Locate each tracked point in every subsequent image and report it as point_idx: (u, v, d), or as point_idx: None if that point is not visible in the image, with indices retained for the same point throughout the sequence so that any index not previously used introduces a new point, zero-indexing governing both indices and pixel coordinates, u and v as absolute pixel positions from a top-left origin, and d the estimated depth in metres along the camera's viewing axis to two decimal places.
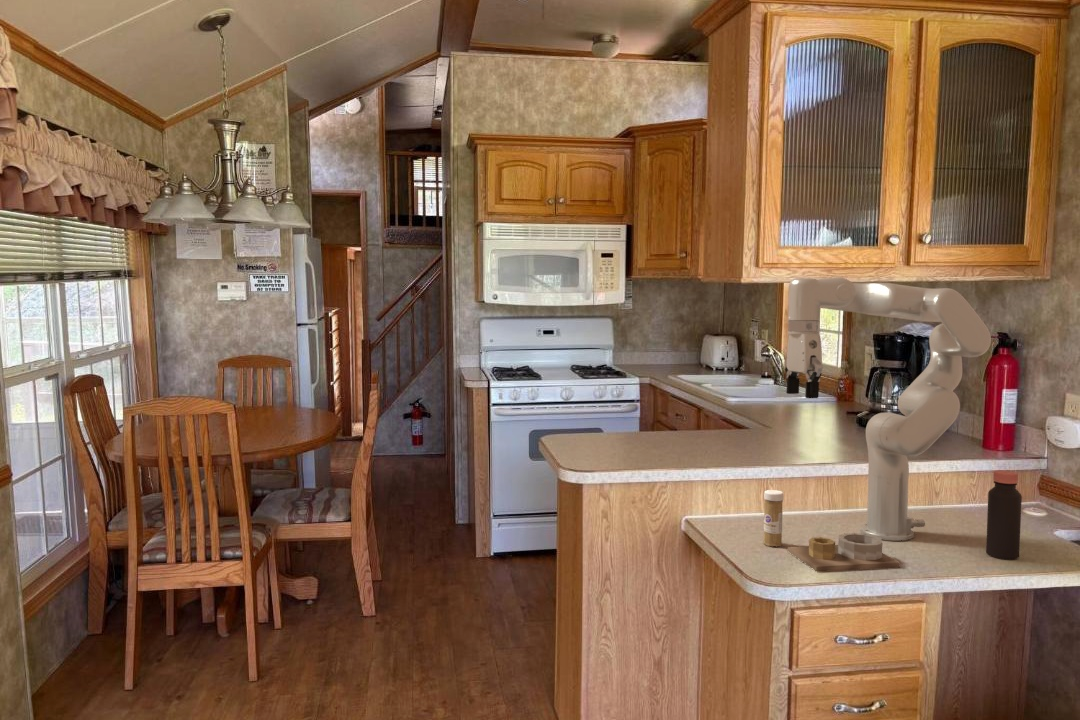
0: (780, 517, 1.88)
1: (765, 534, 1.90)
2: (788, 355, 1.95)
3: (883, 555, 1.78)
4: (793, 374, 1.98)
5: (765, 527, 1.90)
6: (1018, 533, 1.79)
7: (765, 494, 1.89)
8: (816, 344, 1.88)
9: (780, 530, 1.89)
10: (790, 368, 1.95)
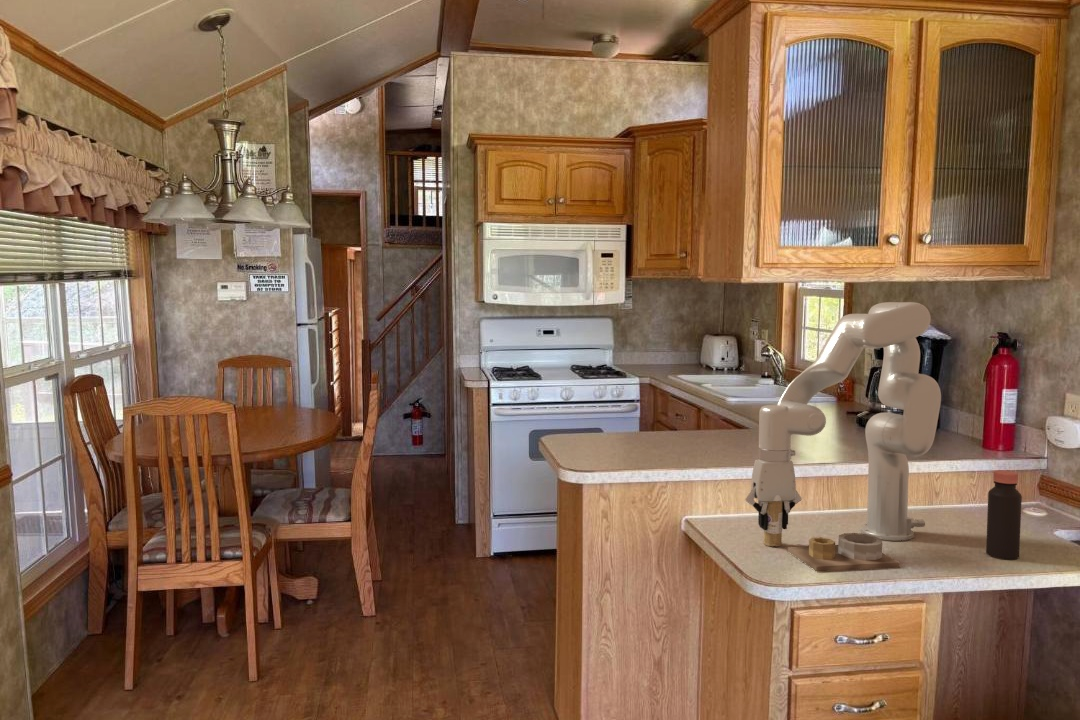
0: (780, 517, 1.88)
1: (765, 534, 1.90)
2: (765, 486, 1.87)
3: (883, 555, 1.78)
4: None
5: None
6: (1018, 533, 1.79)
7: None
8: None
9: (780, 530, 1.89)
10: (768, 499, 1.87)
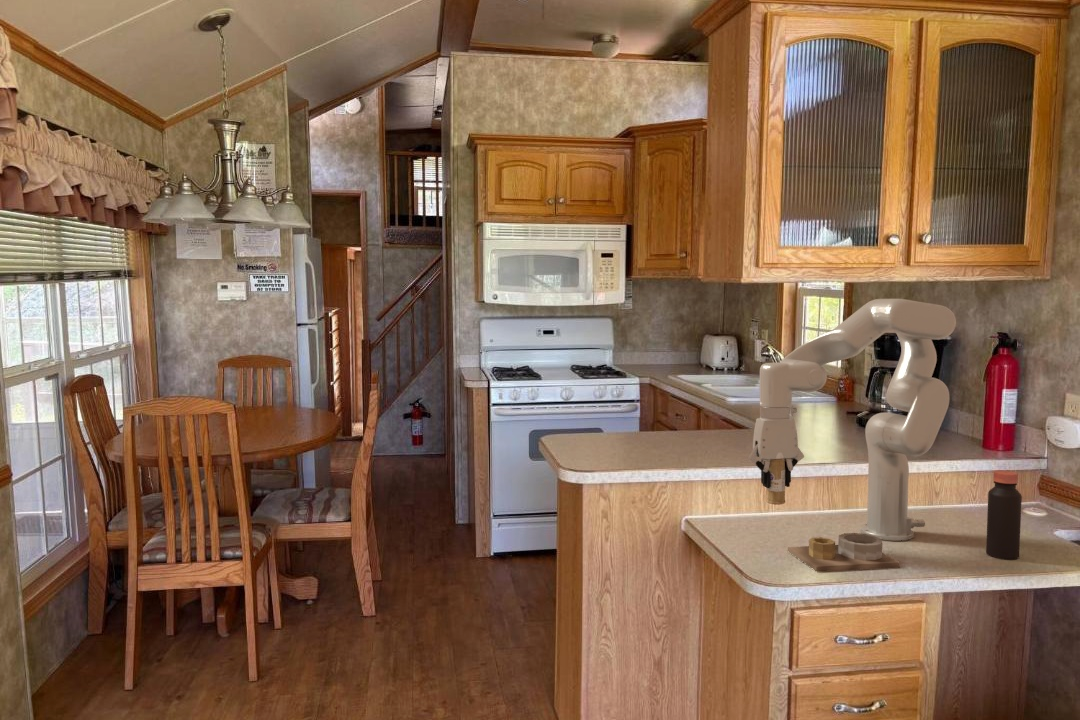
0: (783, 475, 1.88)
1: (768, 492, 1.89)
2: (767, 444, 1.86)
3: (883, 555, 1.78)
4: None
5: None
6: (1018, 533, 1.79)
7: None
8: None
9: (783, 488, 1.88)
10: (770, 456, 1.87)
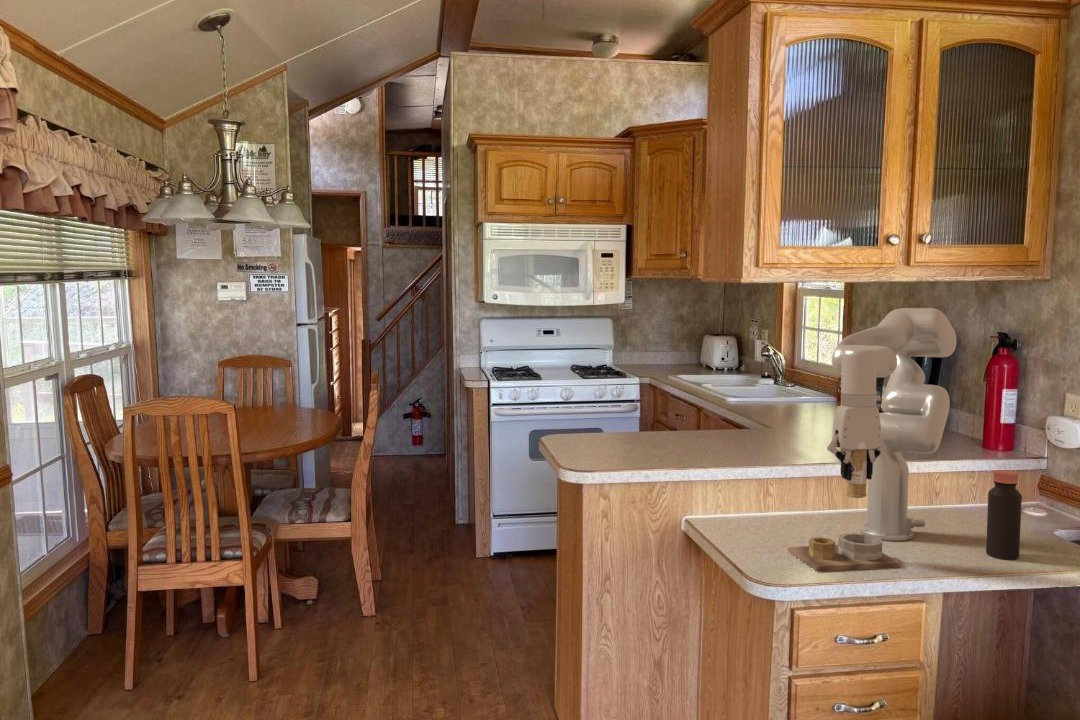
0: (864, 467, 1.77)
1: (848, 485, 1.79)
2: (849, 433, 1.76)
3: (883, 555, 1.78)
4: None
5: None
6: (1018, 533, 1.79)
7: None
8: None
9: (864, 480, 1.78)
10: (852, 447, 1.77)
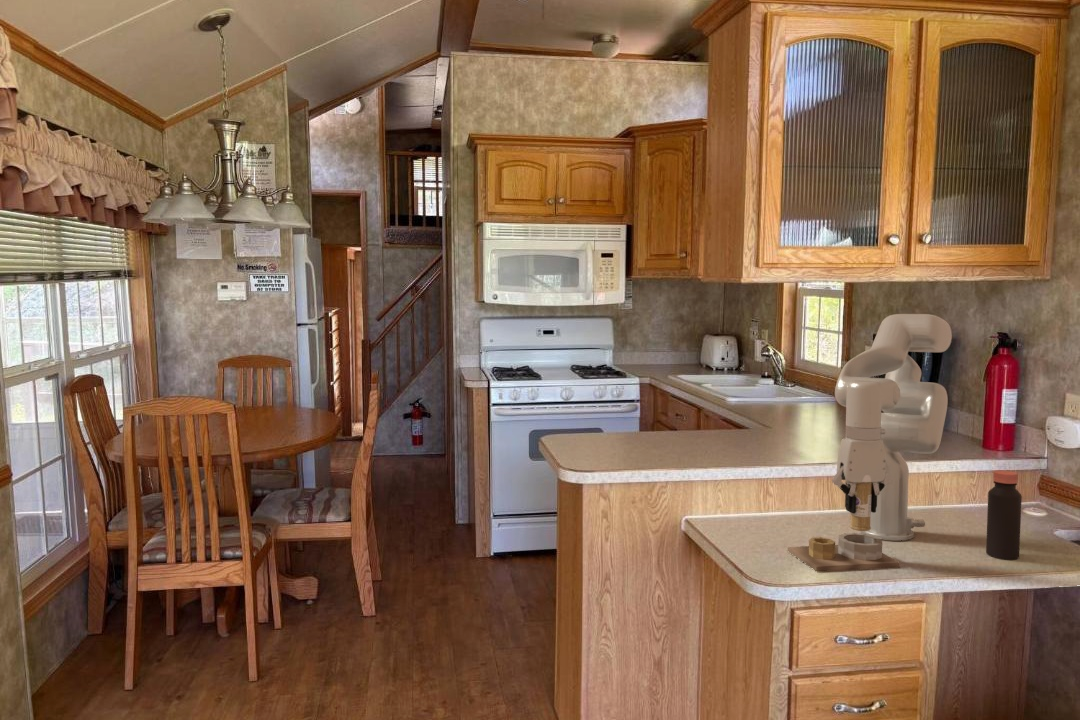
0: (869, 500, 1.77)
1: (853, 518, 1.79)
2: (854, 466, 1.76)
3: (883, 555, 1.78)
4: None
5: None
6: (1018, 533, 1.79)
7: None
8: None
9: (869, 513, 1.77)
10: (857, 480, 1.76)
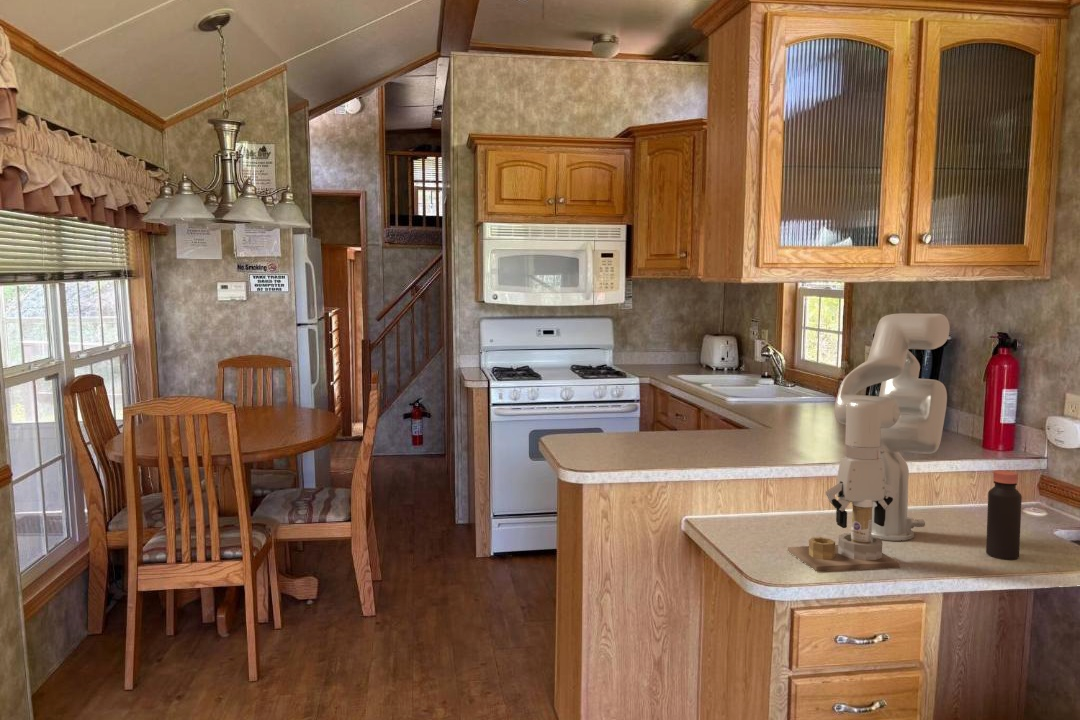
0: (870, 525, 1.78)
1: None
2: (854, 485, 1.76)
3: (883, 555, 1.78)
4: None
5: (853, 535, 1.79)
6: (1018, 533, 1.79)
7: None
8: None
9: (870, 538, 1.78)
10: (856, 499, 1.77)
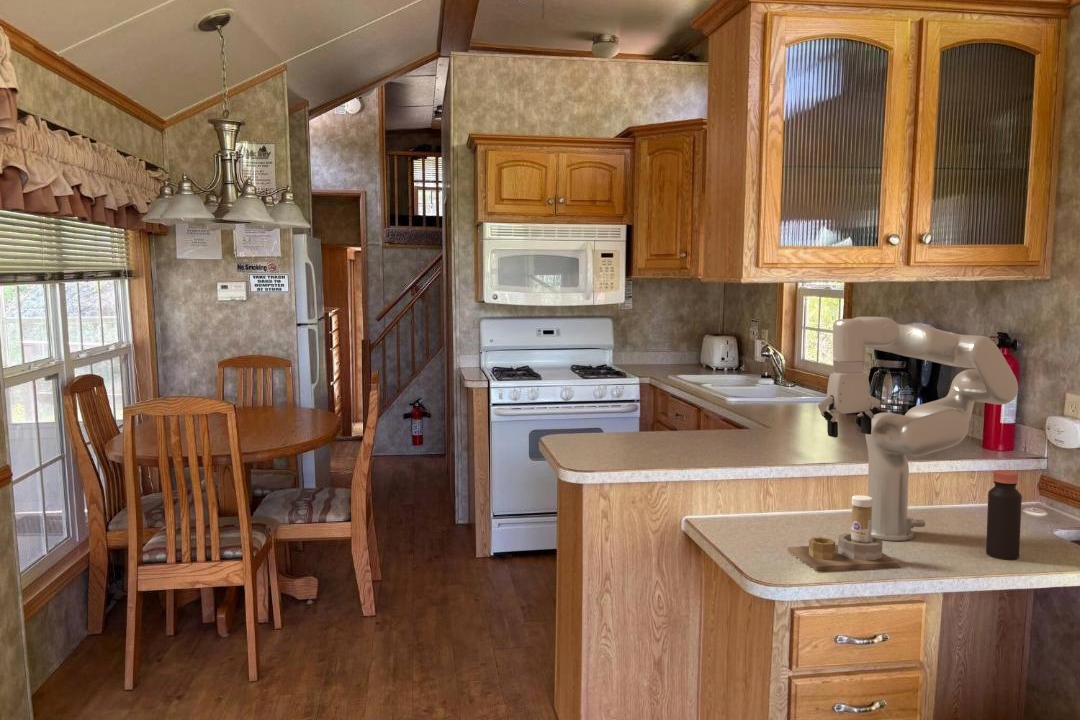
0: (870, 525, 1.78)
1: None
2: (843, 397, 1.91)
3: (883, 555, 1.78)
4: None
5: (853, 535, 1.79)
6: (1018, 533, 1.79)
7: (853, 500, 1.79)
8: None
9: (869, 538, 1.78)
10: (846, 410, 1.91)
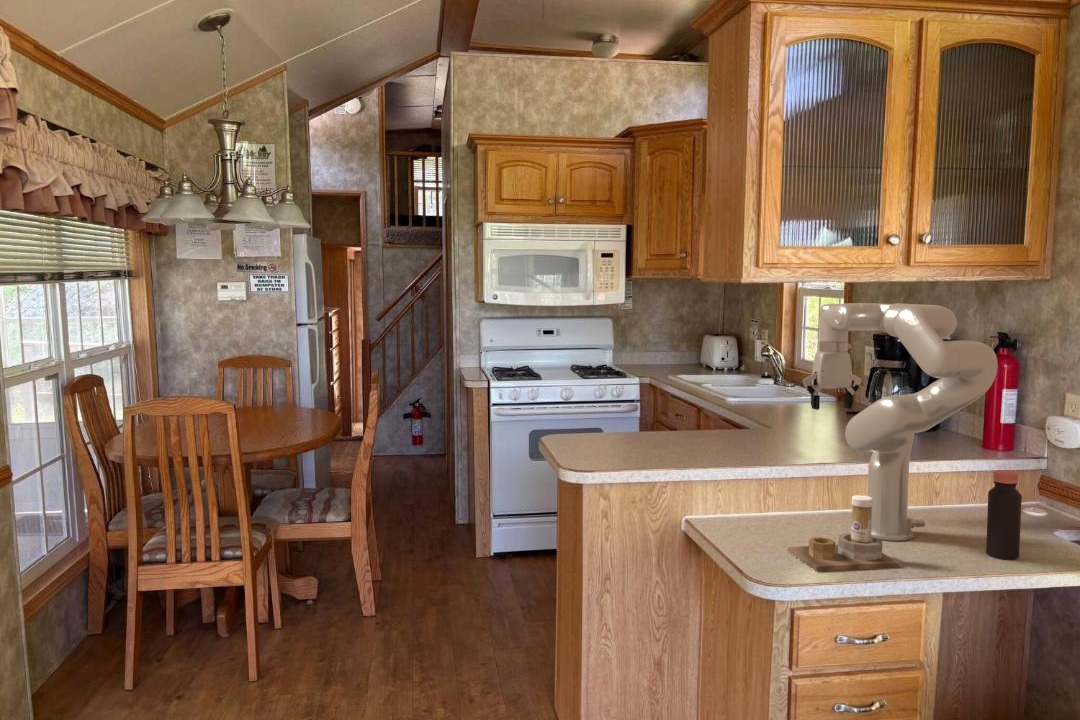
0: (869, 525, 1.78)
1: None
2: (825, 374, 2.13)
3: (883, 555, 1.78)
4: None
5: (853, 535, 1.79)
6: (1018, 533, 1.79)
7: (853, 500, 1.79)
8: None
9: (869, 538, 1.78)
10: (828, 385, 2.13)
